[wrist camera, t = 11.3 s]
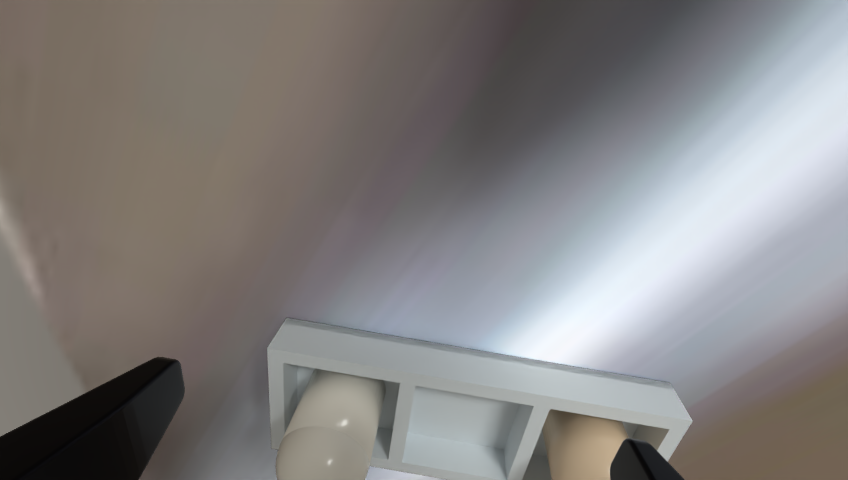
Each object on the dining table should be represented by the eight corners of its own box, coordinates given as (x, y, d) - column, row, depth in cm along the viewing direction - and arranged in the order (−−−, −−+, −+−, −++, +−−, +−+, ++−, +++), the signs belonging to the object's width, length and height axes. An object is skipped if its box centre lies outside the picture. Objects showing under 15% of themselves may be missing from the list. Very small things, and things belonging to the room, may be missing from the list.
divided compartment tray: (670, 382, 22) (692, 421, 20) (620, 471, 26) (635, 512, 24) (286, 317, 23) (267, 348, 21) (287, 413, 26) (271, 448, 24)
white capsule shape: (389, 364, 23) (362, 482, 17) (382, 418, 25) (355, 542, 19) (311, 351, 23) (256, 463, 17) (310, 406, 25) (260, 525, 19)
